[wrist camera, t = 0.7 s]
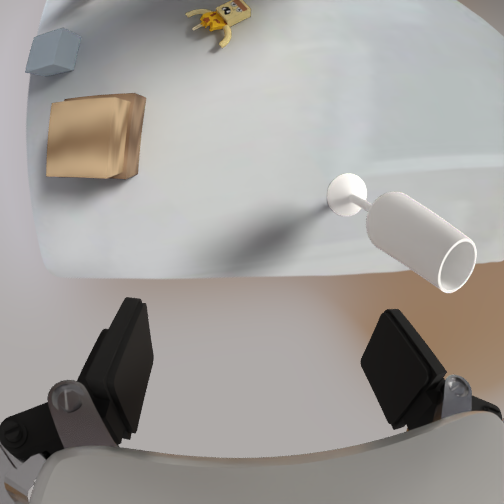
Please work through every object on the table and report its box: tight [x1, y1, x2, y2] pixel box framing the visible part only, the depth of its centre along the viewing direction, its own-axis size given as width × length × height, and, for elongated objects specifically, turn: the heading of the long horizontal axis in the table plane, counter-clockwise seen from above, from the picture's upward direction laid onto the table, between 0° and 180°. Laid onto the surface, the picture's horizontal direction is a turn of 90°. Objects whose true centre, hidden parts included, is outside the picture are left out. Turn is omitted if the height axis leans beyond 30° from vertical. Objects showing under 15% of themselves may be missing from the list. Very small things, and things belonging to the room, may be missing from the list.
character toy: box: [186, 0, 251, 48], centre depth 25 cm, size 8×3×8 cm
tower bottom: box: [64, 93, 146, 179], centre depth 30 cm, size 11×11×5 cm
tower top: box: [46, 97, 131, 179], centre depth 26 cm, size 9×9×5 cm
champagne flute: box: [327, 173, 477, 293], centre depth 27 cm, size 7×7×24 cm
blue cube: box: [25, 28, 82, 76], centre depth 23 cm, size 6×6×6 cm
